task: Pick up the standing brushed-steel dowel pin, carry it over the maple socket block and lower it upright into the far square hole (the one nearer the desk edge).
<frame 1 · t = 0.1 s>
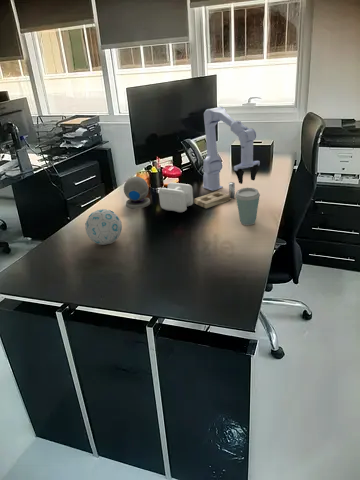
hand: (246, 181, 182), 10 cm above the table, fingers open, 7 cm apart
socket block: (212, 201, 189), on the table
cable organizer: (177, 208, 185), on the table
puzzle ball: (106, 242, 156), on the table
disposable coffee cup: (247, 222, 163), on the table
webcam: (138, 204, 194), on the table
pin: (231, 197, 192), on the table
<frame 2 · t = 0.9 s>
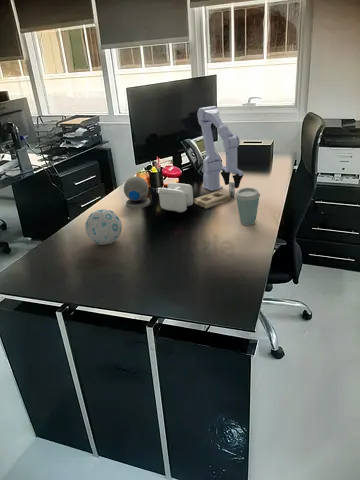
hand: (231, 186, 189), 6 cm above the table, fingers open, 7 cm apart
nothing on the table moved.
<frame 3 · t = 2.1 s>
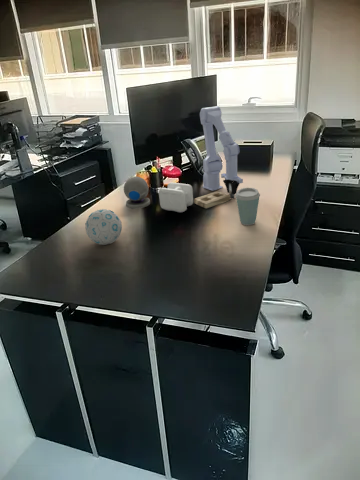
hand: (231, 193, 191), 2 cm above the table, fingers closed on pin, 3 cm apart
pin: (231, 197, 192), on the table, touching gripper
everything else where it was.
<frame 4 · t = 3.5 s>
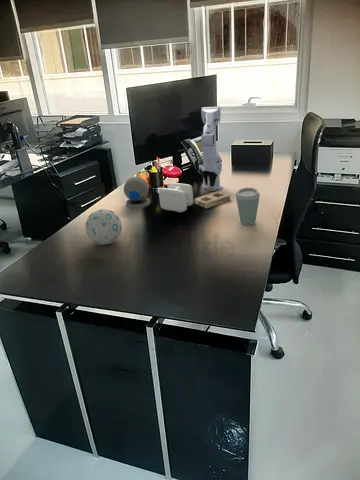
hand: (210, 185, 183), 9 cm above the table, fingers closed on pin, 3 cm apart
pin: (210, 190, 184), point 7 cm above the table, touching gripper
everything else where it was.
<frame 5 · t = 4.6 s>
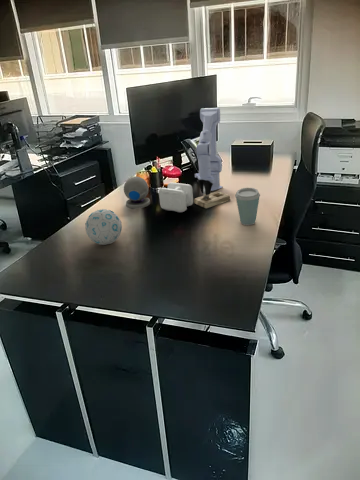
hand: (205, 193, 184), 6 cm above the table, fingers closed on pin, 3 cm apart
pin: (206, 198, 185), point 3 cm above the table, touching gripper
everything else where it was.
when the fingers open (4 cm above the table, at t = 5.3 s): pin drops 1 cm, resting in socket block.
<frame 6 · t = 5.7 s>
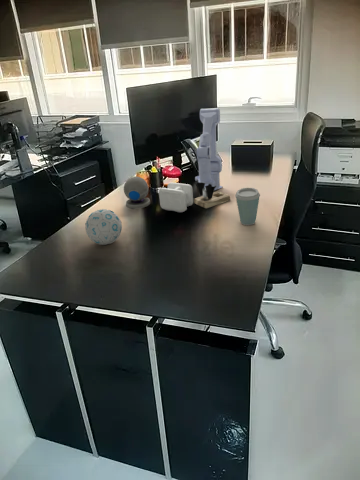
hand: (205, 196, 185), 4 cm above the table, fingers open, 6 cm apart
pin: (206, 203, 187), resting in socket block
everything else where it was.
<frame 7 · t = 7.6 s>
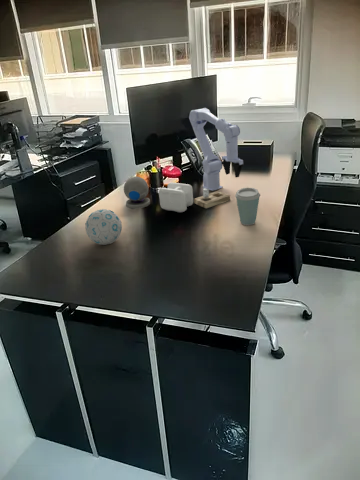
hand: (232, 175, 192), 10 cm above the table, fingers open, 7 cm apart
nothing on the table moved.
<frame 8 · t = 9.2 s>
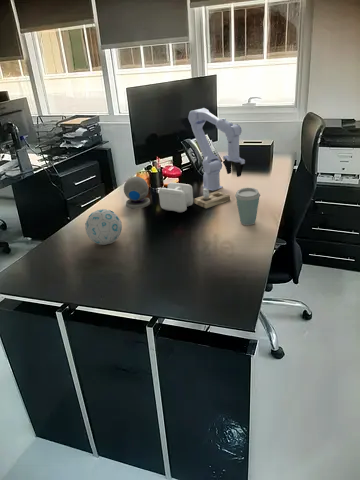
hand: (233, 174, 192), 10 cm above the table, fingers open, 7 cm apart
nothing on the table moved.
at the end: pin 0.2 cm from the target spot on the socket block, point 0.0 cm above the socket block's base; pin tilted 0°; the gripper is holding nothing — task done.
